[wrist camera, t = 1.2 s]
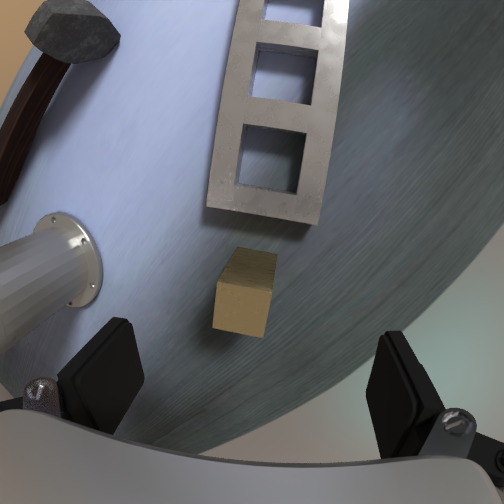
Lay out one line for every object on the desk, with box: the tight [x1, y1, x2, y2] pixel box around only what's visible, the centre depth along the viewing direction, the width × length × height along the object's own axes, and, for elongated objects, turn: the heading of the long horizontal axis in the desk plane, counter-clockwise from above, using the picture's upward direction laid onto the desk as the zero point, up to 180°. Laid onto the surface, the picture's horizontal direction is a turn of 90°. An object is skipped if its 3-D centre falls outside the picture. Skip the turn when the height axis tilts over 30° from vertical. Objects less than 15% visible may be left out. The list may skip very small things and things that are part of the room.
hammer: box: [0, 0, 121, 205], centre depth 25 cm, size 5×11×30 cm
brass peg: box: [212, 247, 278, 338], centre depth 27 cm, size 4×4×9 cm
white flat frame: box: [206, 0, 349, 225], centre depth 24 cm, size 26×10×2 cm, turn 172°
